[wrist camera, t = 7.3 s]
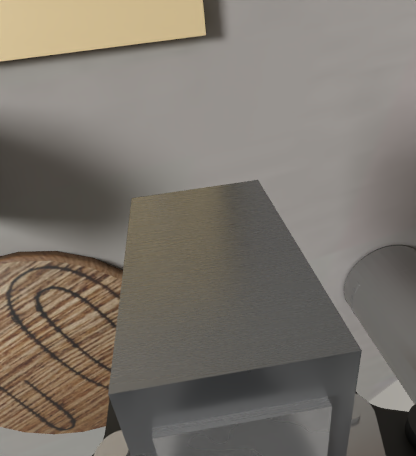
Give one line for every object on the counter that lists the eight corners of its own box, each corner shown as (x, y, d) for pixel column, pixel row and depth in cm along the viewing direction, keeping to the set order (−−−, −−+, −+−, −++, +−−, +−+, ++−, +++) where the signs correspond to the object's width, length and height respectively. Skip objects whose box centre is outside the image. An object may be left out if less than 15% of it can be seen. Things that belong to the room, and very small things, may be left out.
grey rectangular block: (257, 179, 12) (367, 360, 6) (266, 384, 17) (329, 597, 11) (132, 198, 12) (106, 405, 6) (177, 400, 17) (191, 626, 11)
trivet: (57, 444, 49) (54, 459, 47) (-133, 339, 37) (-146, 354, 36) (217, 352, 44) (219, 365, 43) (57, 198, 32) (52, 208, 31)
